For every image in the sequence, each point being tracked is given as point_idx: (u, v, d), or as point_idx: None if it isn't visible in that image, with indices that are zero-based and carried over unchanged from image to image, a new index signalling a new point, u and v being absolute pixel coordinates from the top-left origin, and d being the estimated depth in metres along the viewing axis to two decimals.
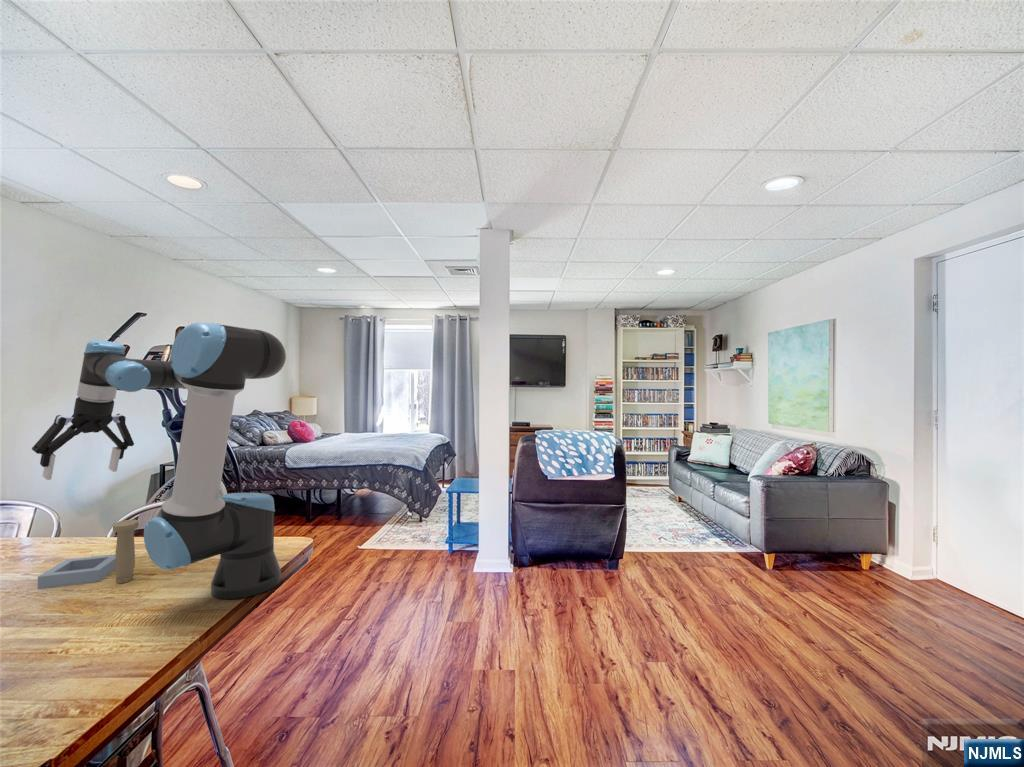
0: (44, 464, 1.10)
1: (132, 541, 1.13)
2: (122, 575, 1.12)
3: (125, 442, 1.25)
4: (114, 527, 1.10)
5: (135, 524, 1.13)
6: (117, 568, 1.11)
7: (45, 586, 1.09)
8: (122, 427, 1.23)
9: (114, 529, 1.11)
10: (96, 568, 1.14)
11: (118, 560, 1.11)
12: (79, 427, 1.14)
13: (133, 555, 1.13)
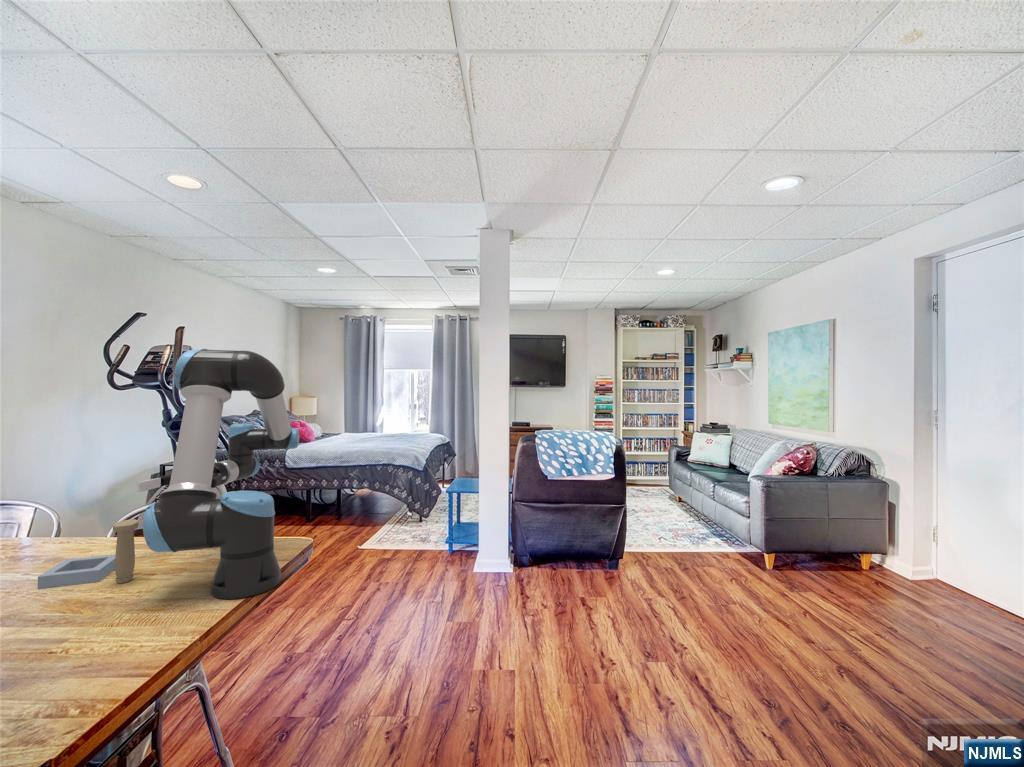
0: None
1: (132, 541, 1.13)
2: (122, 575, 1.12)
3: None
4: (114, 527, 1.10)
5: (135, 524, 1.13)
6: (117, 568, 1.11)
7: (45, 586, 1.09)
8: (218, 475, 1.35)
9: (114, 529, 1.11)
10: (96, 568, 1.14)
11: (118, 560, 1.11)
12: None
13: (133, 555, 1.13)
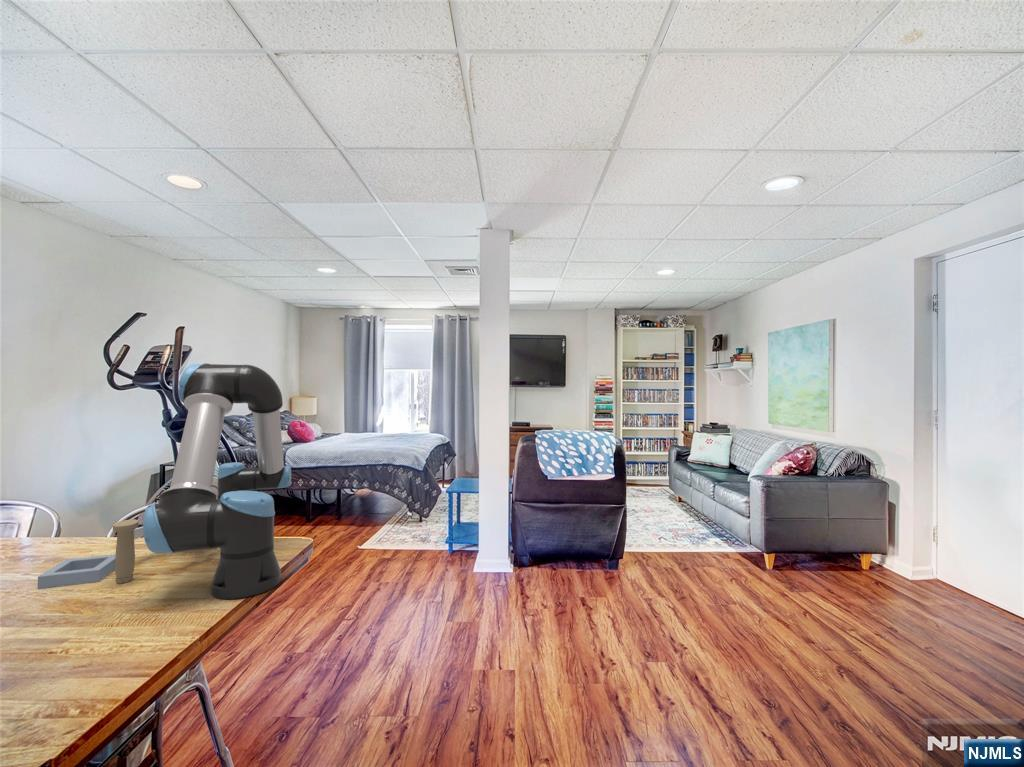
0: None
1: (132, 541, 1.13)
2: (122, 575, 1.12)
3: None
4: (114, 527, 1.10)
5: (135, 524, 1.13)
6: (117, 568, 1.11)
7: (45, 586, 1.09)
8: None
9: (114, 529, 1.11)
10: (96, 568, 1.14)
11: (118, 560, 1.11)
12: None
13: (133, 555, 1.13)
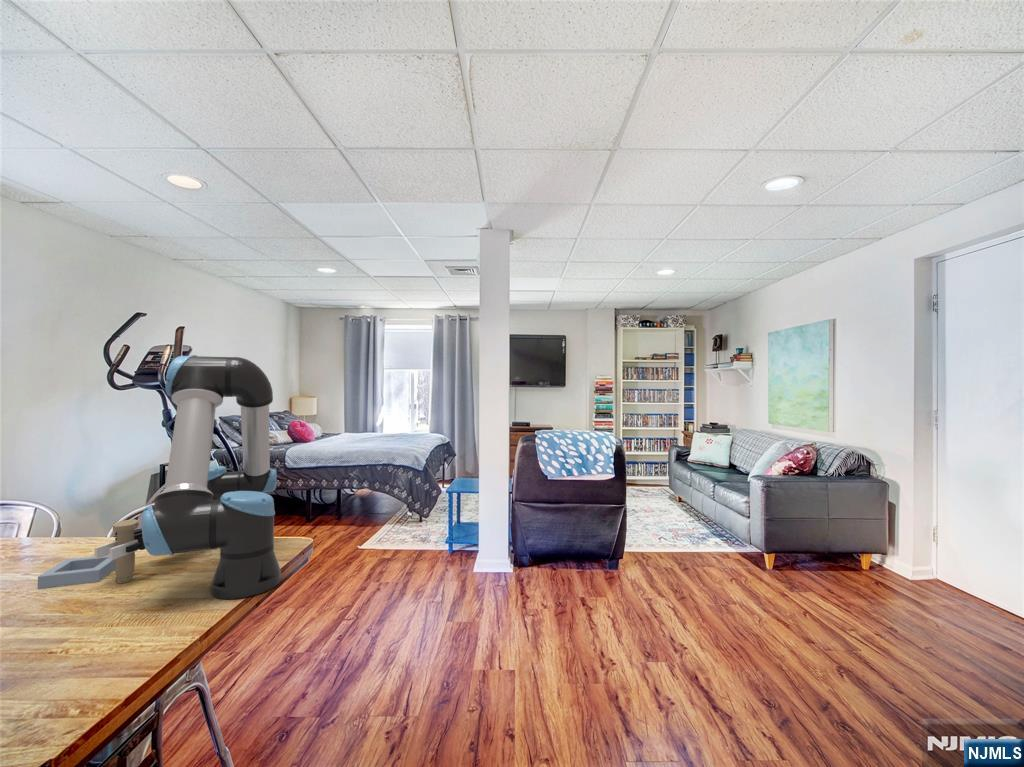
0: None
1: None
2: (122, 575, 1.12)
3: None
4: (114, 527, 1.10)
5: (135, 524, 1.13)
6: (117, 568, 1.11)
7: (45, 586, 1.09)
8: None
9: (114, 529, 1.11)
10: (96, 568, 1.14)
11: (118, 560, 1.11)
12: None
13: (133, 555, 1.13)
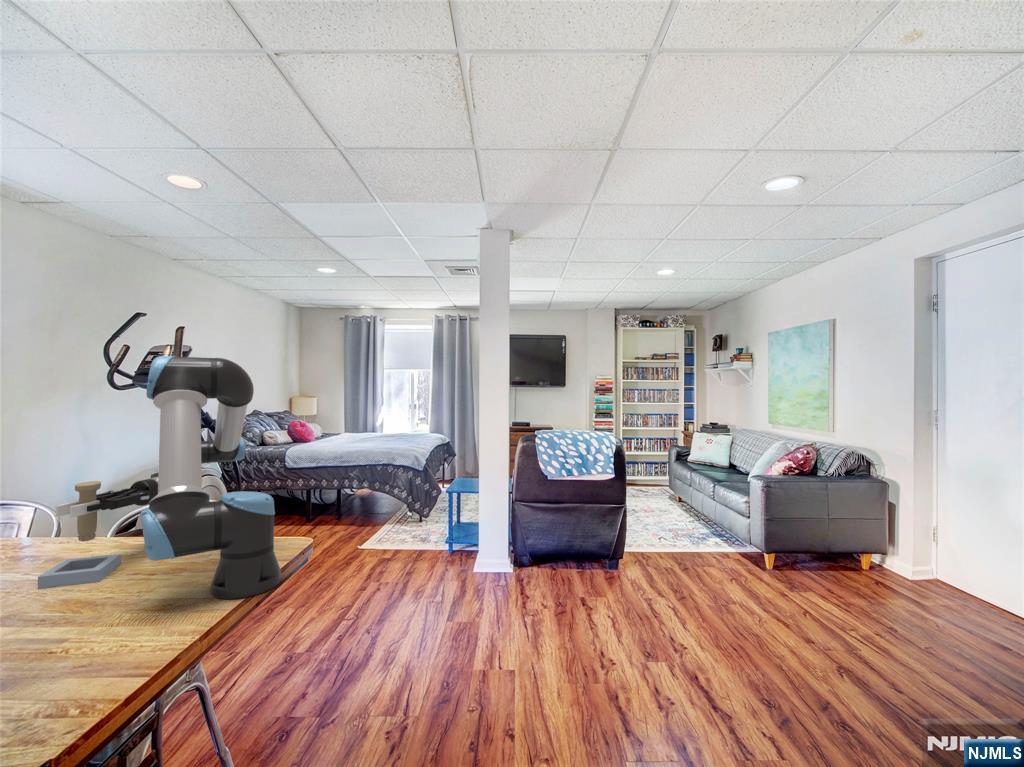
0: None
1: None
2: (84, 533, 1.15)
3: None
4: (76, 487, 1.14)
5: (97, 485, 1.17)
6: (79, 526, 1.15)
7: (45, 586, 1.09)
8: (134, 494, 1.25)
9: (76, 489, 1.14)
10: (96, 568, 1.14)
11: (80, 519, 1.15)
12: None
13: (95, 515, 1.17)
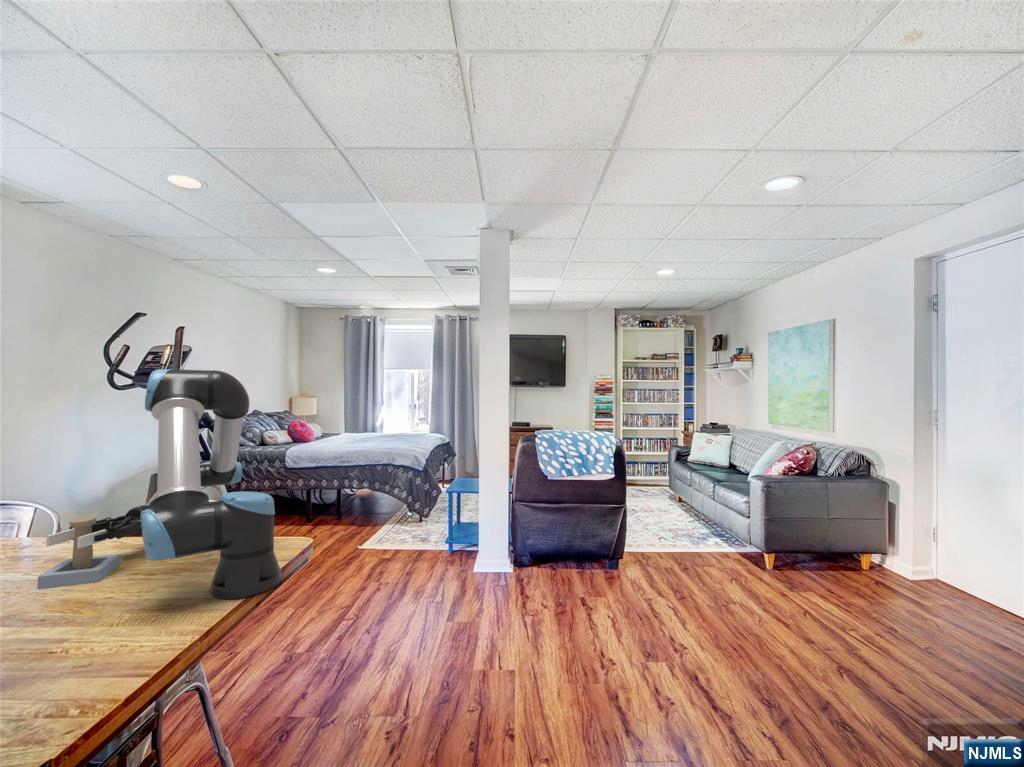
0: None
1: None
2: None
3: None
4: (71, 523, 1.14)
5: (92, 520, 1.16)
6: (74, 563, 1.14)
7: (45, 586, 1.09)
8: (135, 522, 1.25)
9: (71, 525, 1.14)
10: (96, 568, 1.14)
11: (76, 555, 1.14)
12: None
13: (91, 550, 1.17)
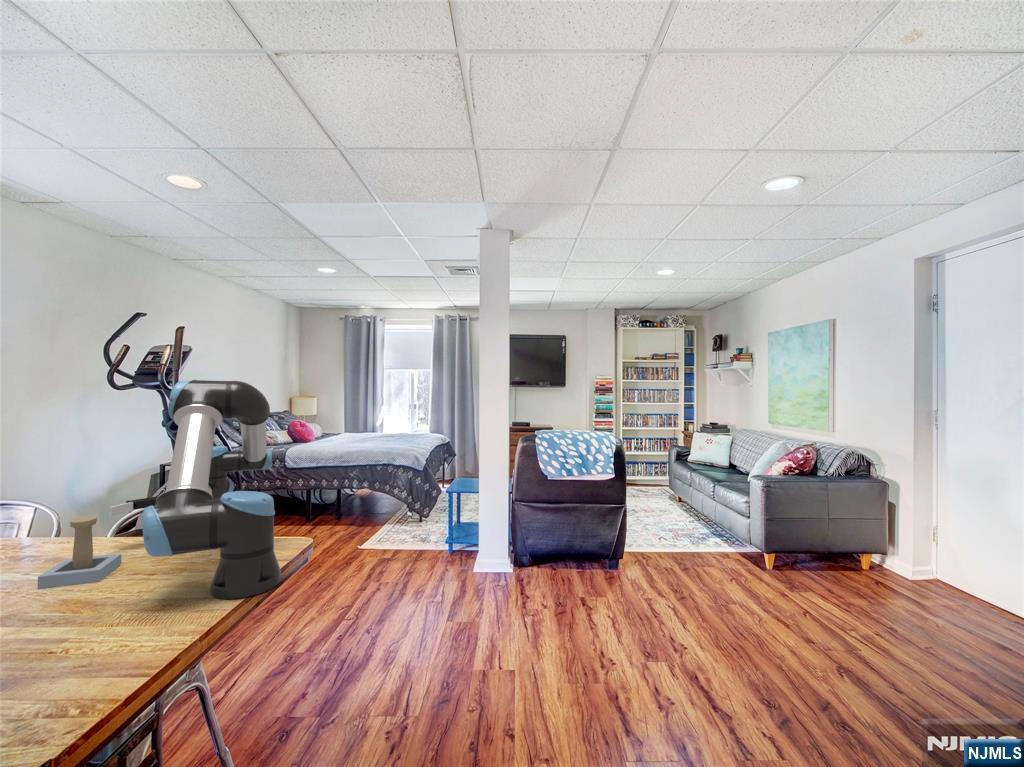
0: None
1: (90, 537, 1.17)
2: None
3: None
4: (71, 523, 1.14)
5: (93, 520, 1.16)
6: (74, 563, 1.14)
7: (45, 586, 1.09)
8: None
9: (71, 525, 1.14)
10: (96, 568, 1.14)
11: (76, 555, 1.14)
12: None
13: (91, 550, 1.17)
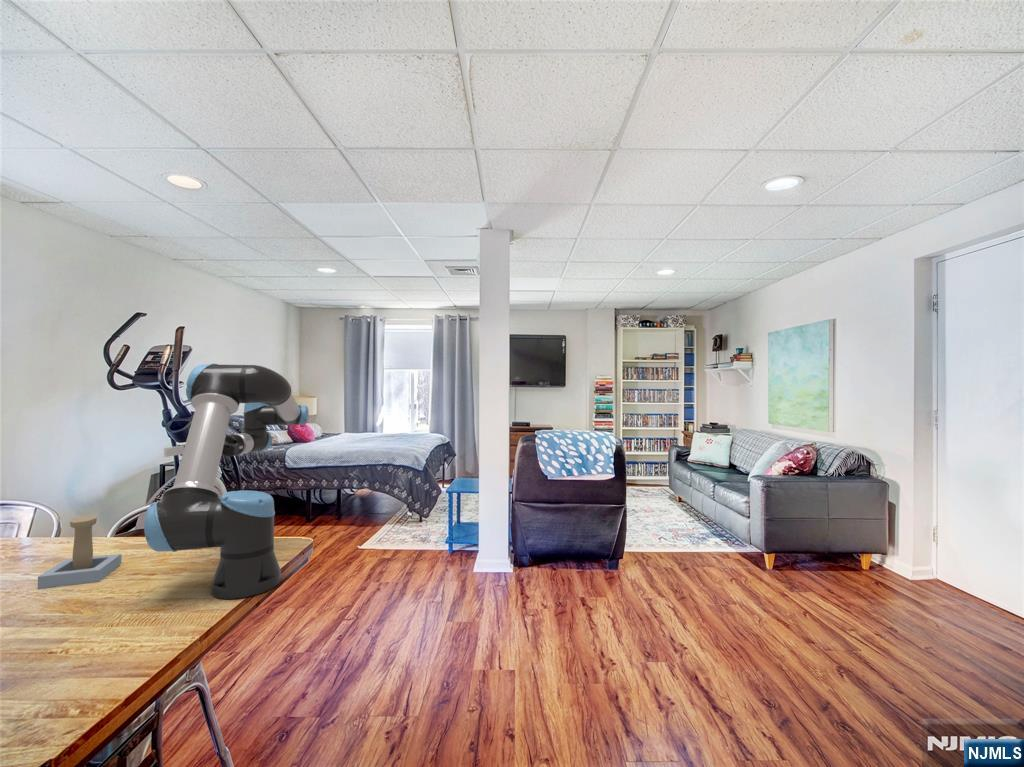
0: None
1: (90, 537, 1.17)
2: None
3: None
4: (71, 523, 1.14)
5: (92, 520, 1.16)
6: (74, 563, 1.14)
7: (45, 586, 1.09)
8: (235, 444, 1.48)
9: (71, 525, 1.14)
10: (96, 568, 1.14)
11: (76, 555, 1.14)
12: None
13: (91, 550, 1.17)
